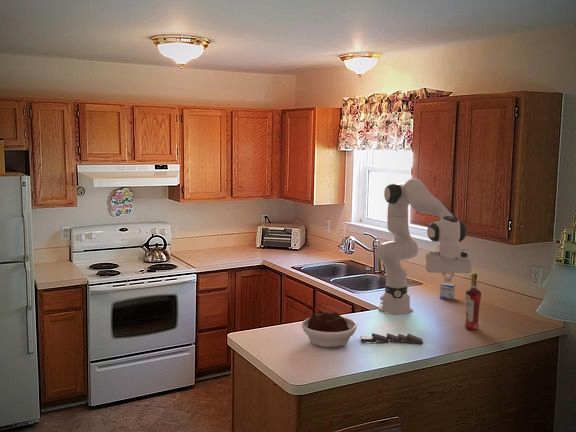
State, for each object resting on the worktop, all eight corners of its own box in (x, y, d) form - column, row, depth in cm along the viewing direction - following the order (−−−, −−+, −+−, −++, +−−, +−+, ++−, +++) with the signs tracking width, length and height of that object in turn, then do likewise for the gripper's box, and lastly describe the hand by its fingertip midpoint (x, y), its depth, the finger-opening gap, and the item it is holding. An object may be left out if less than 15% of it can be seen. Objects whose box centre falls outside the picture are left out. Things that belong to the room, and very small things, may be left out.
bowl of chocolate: (322, 331, 290) (323, 301, 288) (366, 342, 274) (367, 311, 272) (290, 344, 271) (291, 312, 269) (335, 357, 255) (336, 324, 253)
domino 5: (421, 341, 276) (406, 336, 277) (422, 338, 276) (408, 333, 277) (421, 344, 272) (407, 339, 273) (422, 341, 272) (408, 336, 273)
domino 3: (400, 340, 278) (386, 336, 279) (401, 337, 278) (387, 333, 278) (401, 343, 274) (386, 339, 275) (402, 340, 274) (387, 336, 274)
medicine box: (439, 298, 350) (439, 284, 349) (441, 296, 354) (441, 282, 353) (452, 300, 346) (453, 285, 345) (454, 298, 350) (455, 284, 349)
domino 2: (384, 339, 278) (371, 335, 276) (386, 336, 278) (372, 333, 276) (387, 343, 274) (374, 339, 272) (388, 340, 274) (375, 336, 272)
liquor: (460, 327, 298) (463, 272, 294) (472, 325, 300) (475, 271, 296) (470, 331, 291) (473, 276, 287) (482, 330, 293) (485, 274, 290)
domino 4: (412, 341, 277) (397, 336, 278) (413, 338, 277) (398, 333, 278) (412, 344, 273) (397, 339, 274) (413, 341, 273) (398, 336, 273)
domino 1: (375, 339, 278) (360, 338, 278) (375, 336, 278) (360, 335, 278) (376, 342, 274) (360, 341, 274) (376, 339, 274) (361, 338, 274)
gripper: (427, 253, 266) (426, 283, 268) (473, 254, 265) (471, 284, 267) (424, 250, 272) (423, 279, 274) (469, 251, 271) (468, 280, 273)
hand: (447, 282), depth 270 cm, fingers closed
